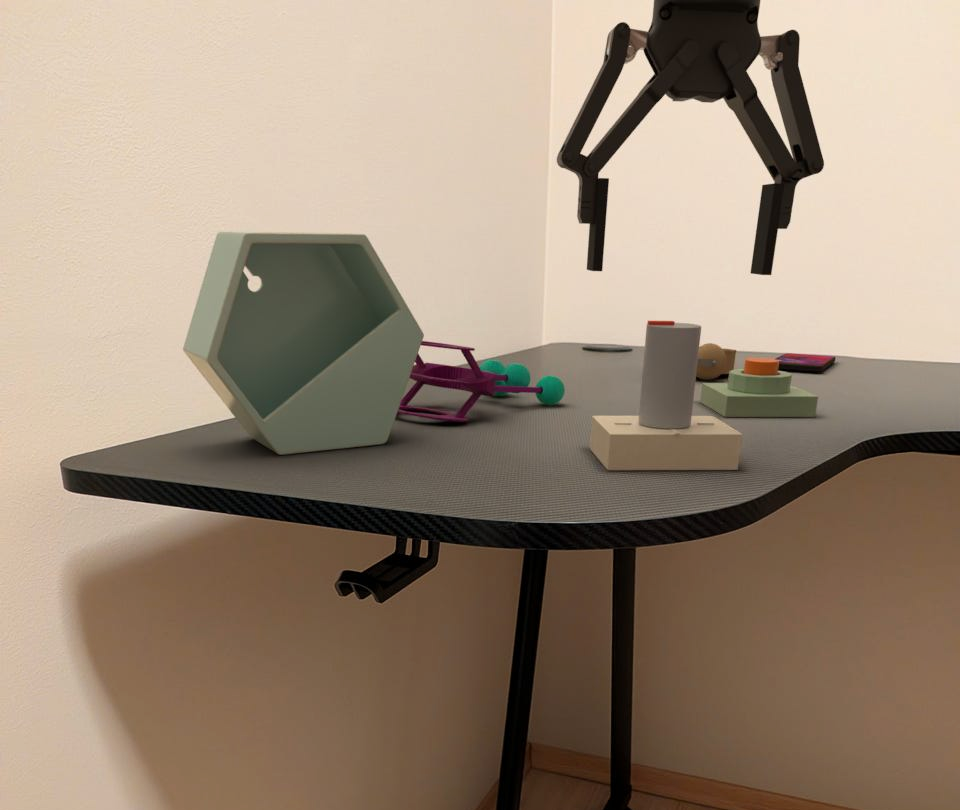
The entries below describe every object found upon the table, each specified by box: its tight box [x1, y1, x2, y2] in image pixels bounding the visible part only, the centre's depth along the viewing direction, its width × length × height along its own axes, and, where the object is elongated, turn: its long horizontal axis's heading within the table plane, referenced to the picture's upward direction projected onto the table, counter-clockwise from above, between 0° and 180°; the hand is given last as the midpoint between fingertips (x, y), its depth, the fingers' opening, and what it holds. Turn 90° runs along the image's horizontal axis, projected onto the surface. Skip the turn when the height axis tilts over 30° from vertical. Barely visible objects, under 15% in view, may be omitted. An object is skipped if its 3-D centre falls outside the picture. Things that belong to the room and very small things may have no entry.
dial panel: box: [589, 415, 743, 471], centre depth 78 cm, size 11×9×3 cm
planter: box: [182, 231, 425, 456], centre depth 79 cm, size 17×8×21 cm
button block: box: [699, 368, 819, 418], centre depth 101 cm, size 10×9×4 cm
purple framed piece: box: [397, 340, 566, 423], centre depth 98 cm, size 12×20×7 cm, turn 135°
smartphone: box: [775, 353, 837, 372], centre depth 136 cm, size 8×1×15 cm
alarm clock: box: [696, 342, 738, 381], centre depth 124 cm, size 11×5×15 cm
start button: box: [743, 357, 779, 376], centre depth 100 cm, size 4×4×2 cm
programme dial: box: [638, 320, 702, 429], centre depth 76 cm, size 4×4×8 cm
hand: (677, 273), depth 73 cm, fingers open, 13 cm apart
